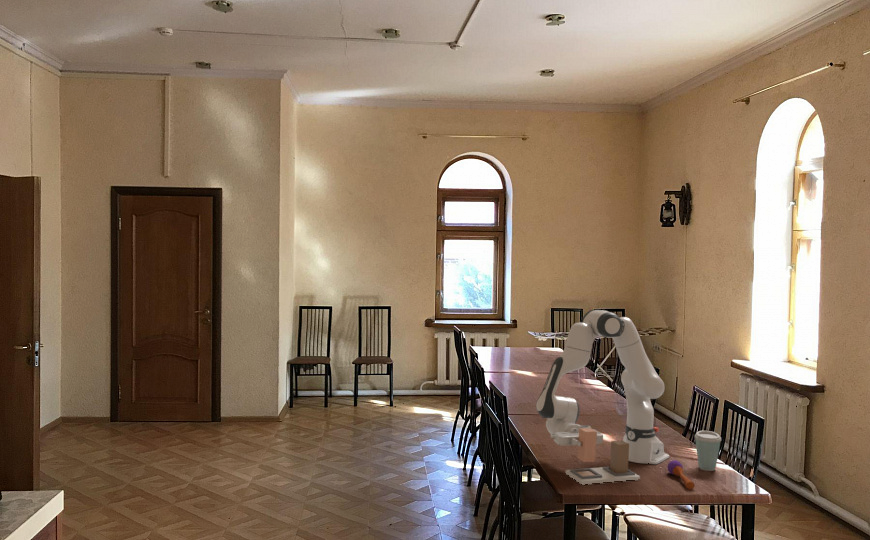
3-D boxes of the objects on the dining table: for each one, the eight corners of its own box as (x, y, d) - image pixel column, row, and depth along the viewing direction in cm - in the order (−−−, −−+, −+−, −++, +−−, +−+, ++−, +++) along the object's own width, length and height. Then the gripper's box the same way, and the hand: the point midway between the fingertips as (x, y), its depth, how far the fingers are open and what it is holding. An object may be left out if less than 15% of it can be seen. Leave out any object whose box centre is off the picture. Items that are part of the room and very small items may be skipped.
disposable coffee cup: (722, 474, 287) (724, 438, 287) (694, 471, 289) (696, 435, 289) (717, 465, 298) (719, 431, 297) (690, 463, 300) (692, 429, 299)
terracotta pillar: (588, 457, 278) (590, 427, 278) (595, 461, 274) (596, 431, 273) (577, 458, 277) (579, 428, 276) (583, 462, 272) (585, 431, 272)
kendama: (681, 479, 267) (664, 459, 287) (683, 494, 268) (666, 472, 288) (697, 477, 267) (679, 457, 287) (698, 492, 268) (680, 470, 288)
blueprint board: (621, 469, 288) (622, 437, 288) (639, 480, 276) (641, 446, 275) (565, 473, 280) (567, 440, 279) (582, 485, 268) (583, 450, 267)
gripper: (548, 427, 284) (565, 437, 271) (592, 425, 290) (610, 435, 277) (547, 442, 284) (564, 453, 271) (591, 440, 291) (610, 450, 277)
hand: (588, 444), depth 274 cm, fingers closed on terracotta pillar, 5 cm apart
